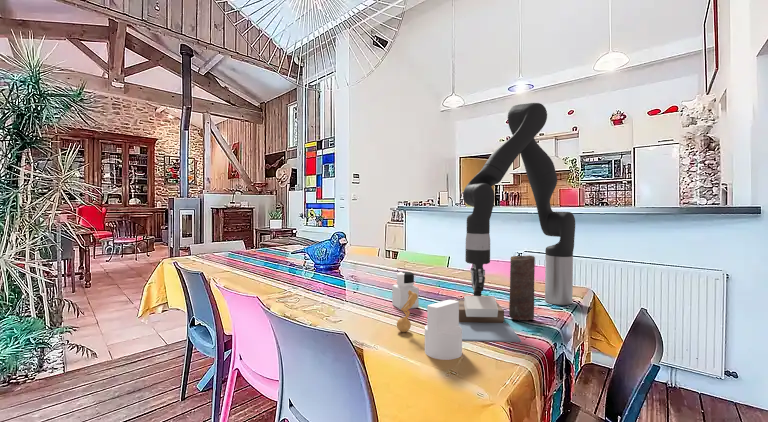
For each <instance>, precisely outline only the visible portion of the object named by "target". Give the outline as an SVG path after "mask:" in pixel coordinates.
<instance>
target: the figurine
mask: <svg viewBox="0 0 768 422" xmlns="http://www.w3.org/2000/svg"><path fill="white" fill-rule="evenodd" d="M408 294H409V297H408V301H407V302H406V304H405V305H404V306H403V308H402V309H401V310H400V311H401V312H403V313H404V314H405V316H404V317H400V318H399V319H398V320H397V322H396V328H397V330H398V331H399V332H401V333H407V332H409V331H410V330H411V326H412V323H411V321H410V320H409V317H410V313H411V311H410V310H411V309H412V308H411V307H412V306H413V304H415V301H416V299H417V294H416V293H413V292H412V291H410V290H409V291H408ZM408 302H409V304H408ZM407 304H408V305H407ZM406 305H407V306H406ZM405 306H406V307H405ZM404 307H405V308H404ZM410 308H411V309H410Z"/></svg>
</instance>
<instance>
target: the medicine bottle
mask: <svg viewBox="0 0 768 422" xmlns="http://www.w3.org/2000/svg"><path fill="white" fill-rule="evenodd" d="M414 284H415V274H414V272H411V271H399V272H398V273H396V284H392V286H391V287H392V289H391V290H392V295H391V296H392V301H391V302H392V306H394V307H396V308H397V309H398V310H400V311H401V309H402V308H403V306H404V305H405V304H406V302H407V301H408V297H409V294H408V291H409V290H410V291H412V292H413V293H416V294H417V299H416V301H415V304H413V306H412V307H411V308H410V309H409V310H411V309H417V308H419V307H420V306H419V296H420V295H419V289H420V288H419V287H418V286H415V285H414ZM408 304H409V302H408ZM408 304H407V305H408ZM407 305H406V306H407ZM406 306H405V307H406ZM405 307H404V308H405Z"/></svg>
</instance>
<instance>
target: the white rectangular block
mask: <svg viewBox="0 0 768 422" xmlns="http://www.w3.org/2000/svg"><path fill="white" fill-rule="evenodd" d="M463 297H464V298H463V300H464V307H465V312H466V317H497V316H498V307H497V303H498V302H497V301H496V298H495V296H494V295H481V296H474V295H464V296H463ZM496 302H497V303H496Z"/></svg>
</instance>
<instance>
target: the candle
mask: <svg viewBox="0 0 768 422" xmlns="http://www.w3.org/2000/svg"><path fill="white" fill-rule="evenodd" d="M535 259H536V257H535V256H534V255H518V256H517V255H513V256H510V269H509V270H510V271H509V273H510V274H509V301H508V303H509V305H508V306H509V307H508V315H509V317H510V318H511V319H513V320H514V321H531V320H534V319H535V267H536V263H535V262H536V260H535Z"/></svg>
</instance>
